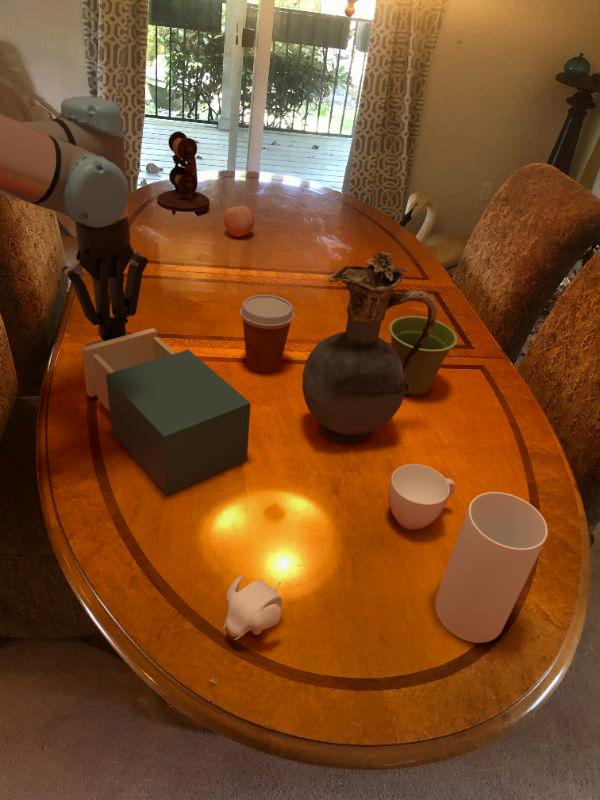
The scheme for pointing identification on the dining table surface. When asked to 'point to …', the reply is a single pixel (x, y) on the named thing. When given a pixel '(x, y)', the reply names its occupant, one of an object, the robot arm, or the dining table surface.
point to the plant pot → (421, 350)
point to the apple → (238, 220)
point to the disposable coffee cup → (265, 331)
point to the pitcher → (362, 356)
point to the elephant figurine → (252, 608)
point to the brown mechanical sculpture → (183, 178)
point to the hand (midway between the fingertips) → (115, 355)
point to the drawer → (119, 358)
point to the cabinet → (178, 419)
